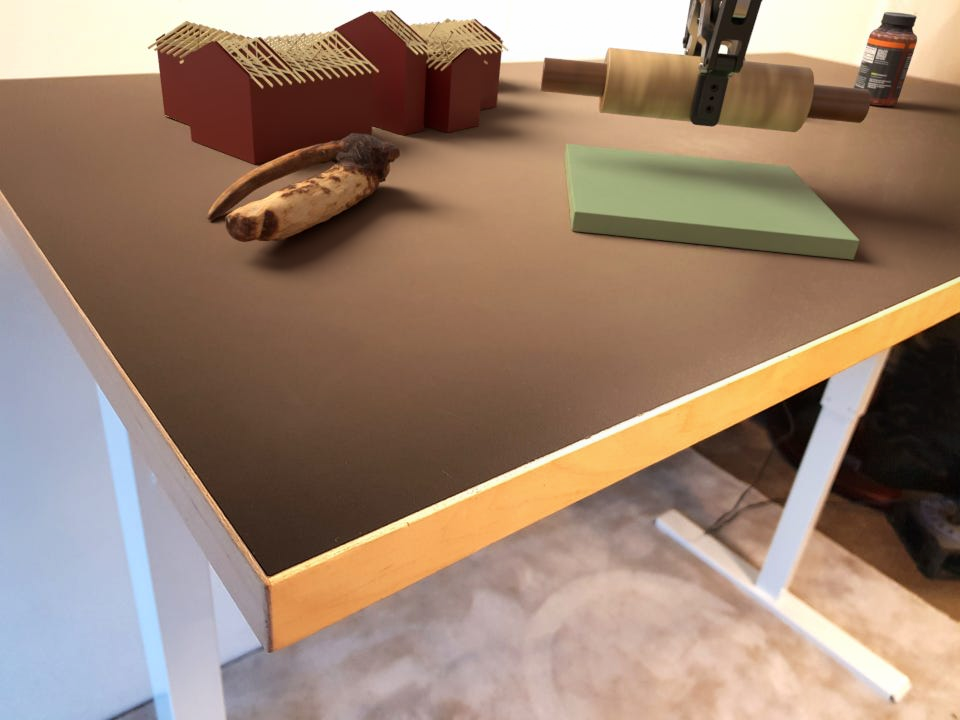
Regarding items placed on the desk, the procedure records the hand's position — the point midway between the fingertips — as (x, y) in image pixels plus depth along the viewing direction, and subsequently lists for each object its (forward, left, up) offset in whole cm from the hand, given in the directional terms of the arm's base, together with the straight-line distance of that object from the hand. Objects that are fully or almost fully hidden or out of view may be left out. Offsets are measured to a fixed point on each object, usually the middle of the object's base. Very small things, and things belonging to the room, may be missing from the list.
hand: (696, 115), depth 65 cm
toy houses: (+29, -17, -6) cm, 34 cm away
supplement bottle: (-34, -48, -6) cm, 59 cm away
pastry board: (0, +5, -6) cm, 8 cm away
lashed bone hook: (+29, +16, -6) cm, 34 cm away
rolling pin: (0, 0, 0) cm, 1 cm away
